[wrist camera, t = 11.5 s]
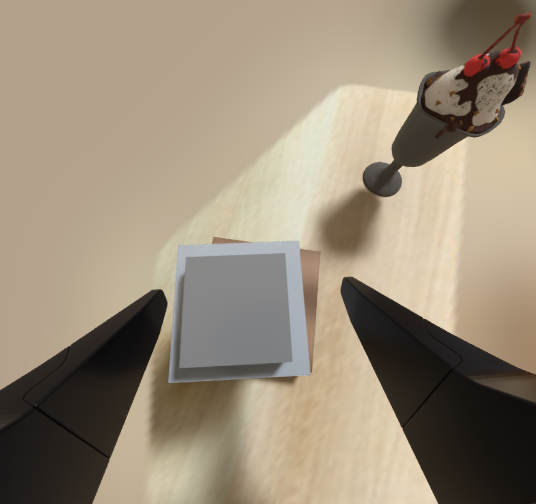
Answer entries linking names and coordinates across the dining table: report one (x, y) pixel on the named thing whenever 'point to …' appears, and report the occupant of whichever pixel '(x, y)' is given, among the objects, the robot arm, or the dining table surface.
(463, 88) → the sundae
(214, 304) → the grey rectangular block
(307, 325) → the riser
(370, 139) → the dining table surface
